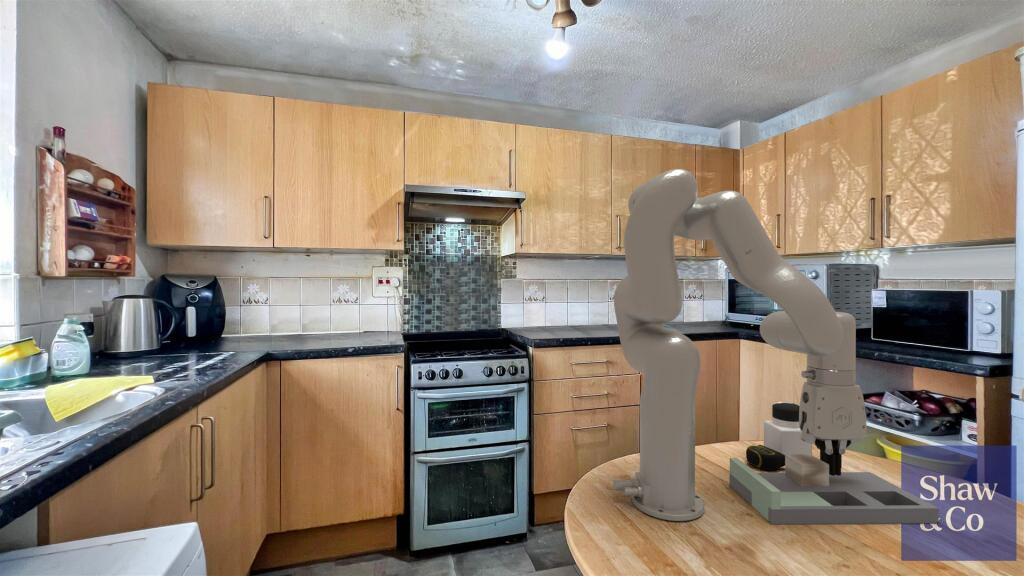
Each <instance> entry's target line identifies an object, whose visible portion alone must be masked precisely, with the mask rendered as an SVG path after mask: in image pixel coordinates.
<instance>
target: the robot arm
mask: <svg viewBox="0 0 1024 576" xmlns="http://www.w3.org/2000/svg"><path fill="white" fill-rule="evenodd" d="M698 192H699V188H698V183H697V180H696V178H695V176H694V175H693V173H692V172H690V171H688V170H686V169H683V168H673V169H669V170H666V171H664V172H661V173H660V174H658V175H656V176H654V177H653V178H651V179H649V180H648V181H646V182H644V183H642V184H640V185H639V186H637V187H636V188H635V189H634V190H633V191H632V193H630V196H629V198H628V203H627V204H628V212H629V216H628V219H627V222H626V225H625V228H624V229H625V231H624V236H623V244H624V245H623V249H624V256H625V265H626V272H627V275H626V276H625V277H623V278H622V279H621V280H620V281H619V282H618V284H617V286H616V288H615V290H614V295H613V307H614V314H615V318H616V323H617V324H616V325H617V331H618V336H619V341H620V347H621V351H622V353H623V356H624V359H625V361H626V362H627V364H628V365H629V367H631V368H632V369H634V370H635V371H637V372H639V373H641V374H643V375H644V377H643V383H642V388H641V391H640V395H639V396H640V398H639V471H636V472H634V477H630V478H629V479H623V478H621V479H620V478H614V479H613V489H614V491H615V492H616V491H618V492H619V491H623V494H624V496H627V497H628V496H630V499H631V502H632V504H633V505H634V506H635V507H636V508H637V509H638V510H639V511H641V512H643V513H644V514H647V515H649V516H651V517H654V518H657V519H661V520H666V521H671V522H672V521H673V522H686V521H692V520H695V519H697V518H699V517H701V516H702V515H703V514H704V512H705V506H706V505H705V500H704V499H703V497H702V496H700V495H699V494H698V493H697V492H696V400H697V399H696V397H697V396H696V395H697V388H698V382H699V377H700V373H701V363H702V362H701V355H700V352H699V349H698V348H697V346H696V344H695V343H694V342H693V341H692V340H691V338H690V337H688V336H686V335H685V334H683V333H680V332H678V331H674V330H671V329H666V328H665V326H664V325H665V324H667V323H671V322H673V321H675V319H677V318H678V316H679V315H680V314H681V312H682V308H683V295H682V289H681V285H680V284H681V283H680V277H679V272H678V271H679V270H678V267H677V261H676V254H675V237H680V238H683V239H687V240H693V241H709V240H710V241H711V243H712V244H713V246H714V248H715V249H716V250H717V252H718V254H719V256H720V257H721V259H722V261H723V262H724V264H725V266H726V268H727V269H728V271H729V273H730V274H731V276H732V278H733V279H734V280H735V281H736V282H738V283H739V284H741V285H743V286H745V287H746V288H748V289H751V290H753V291H755V292H756V293H758V294H761V295H762V296H765V297H766V298H768V299H770V300H771V301H772V302H774V303H775V304H776V305H777V306H779V307H780V309H782V310H778V311H774V312H771V313H769V314H768V315H766V316H765V317H764V318H763V319H762V321H761V323H760V326H759V333H760V337H761V338H762V340H764V341H765V343H766V344H768V345H770V346H771V347H773V348H776V349H779V350H783V351H788V352H794V353H800V354H805V355H806V370H802V371H801V377H802V378H803V379H806V381H804V382H803V386H802V389H801V394H800V398H799V399H800V400H799V406H800V408H799V426H800V430H801V431H802V434H801V440H803V441H805V442H807V443H811V444H812V445H814V446H815V447H816V449H818V450H819V459H820V460H822V461H823V462H825V463H827V464H829V474H830V475H831V476H835V475H837V476H840V475H841V472H842V467H843V465H842V462H843V461H842V459H843V458H842V456H843V455H844V454H846V450H847V448H849V446H850V445H853V444H856V443H860V442H861V441H862V439H864V438H865V437H866V436H867V427H868V426H867V415H866V414H867V412H866V406H865V399H864V394H863V392H862V389H861V386H860V385H858V384H856V380H857V379H856V378H857V376H856V375H857V371H856V369H857V364H856V361H857V360H856V359H857V358H856V357H857V356H856V355H857V353H856V345H857V343H856V341H857V337H856V335H857V334H856V331H857V329H856V327H857V324H856V322H857V321H856V319H855V316H853V314H851V313H848V312H844V311H843V312H842V311H835V308H834V306H832V304H831V302H830V300H829V298H828V297H827V296H826V294H825V293H824V291H822V288H820V287H819V286H818V285H817V284H816V283H815V282H814V281H812V280H811V279H810V278H809V277H807V276H806V274H804V273H802V272H801V271H800V270H799V269H798V268H796V267H795V266H794V265H792V264H791V263H789V261H786V260H785V259H784V258H783V257H782V256H781V254H780V253H779V252H778V251H777V249H776V247H775V245H774V243H773V242H772V240H771V238H770V236H769V234H768V233H767V231H766V230H765V228H764V227H763V225H762V223H761V221H760V219H759V218H758V216H757V214H756V213H755V210H754V209H753V207H752V206H751V204H750V202H749V200H748V199H747V198H746V196H744V195H743V194H742V193H740V192H738V191H736V190H722V191H718V192H714V193H712V194H708V195H705V196H703V197H698V194H699V193H698Z"/></svg>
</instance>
